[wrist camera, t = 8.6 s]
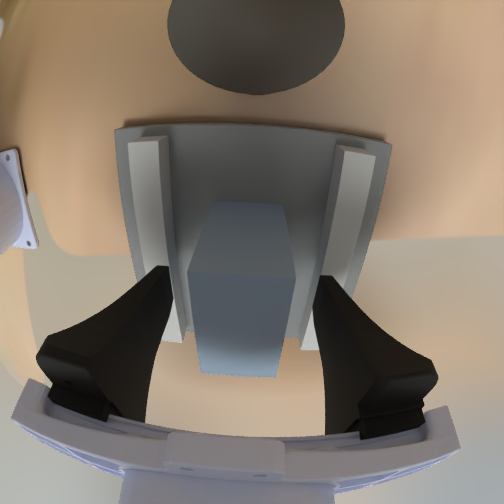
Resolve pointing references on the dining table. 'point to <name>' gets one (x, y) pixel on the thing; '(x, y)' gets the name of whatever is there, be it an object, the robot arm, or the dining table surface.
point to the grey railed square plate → (250, 190)
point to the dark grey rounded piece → (256, 41)
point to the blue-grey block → (241, 288)
